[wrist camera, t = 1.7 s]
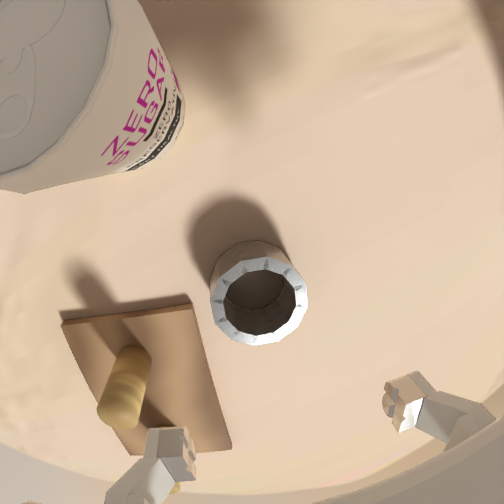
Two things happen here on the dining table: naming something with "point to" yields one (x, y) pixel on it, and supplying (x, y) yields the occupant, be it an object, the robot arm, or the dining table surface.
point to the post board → (149, 375)
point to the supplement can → (81, 92)
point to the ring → (261, 319)
